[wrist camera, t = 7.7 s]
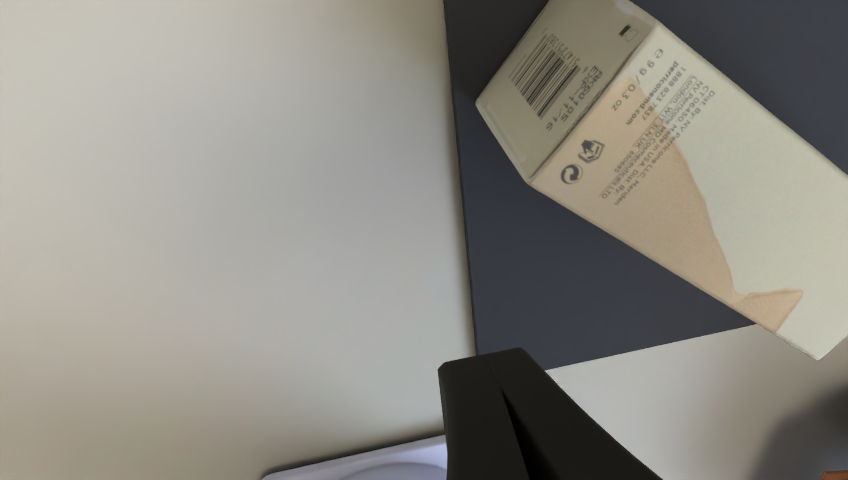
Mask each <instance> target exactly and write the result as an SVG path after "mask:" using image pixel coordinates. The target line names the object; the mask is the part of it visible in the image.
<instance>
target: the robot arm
mask: <svg viewBox="0 0 848 480" xmlns="http://www.w3.org/2000/svg"><path fill="white" fill-rule="evenodd" d="M438 377H439V385H440V394H441V403H442V412H443V421H444V429H445V435H441V436H437V437H432V438H428V439H423V440H419V441H414V442H410V443H406V444H401V445H397V446H392V447H388V448H383V449H379V450H374V451H370V452H365V453H361V454H357V455H352V456H348V457H343V458H339V459H334V460H330V461H325V462H321V463H317V464H312V465H308V466H303V467H299V468H294V469H290V470H285V471H281V472H276V473H272V474H269V475H267V476H265V477H264V478H263V479H262V480H663V479H662V478H660V477H659V476H658V475H657V474H655V473H654V472H653V471H652V470H650V469H649V468H648V467H647V466H646V465H644V464H643V463H642V462H641V461H639V460H638V459H637V458H636V457H635V456H633V455H632V454H631V453H630V452H629V451H628V450H626V449H625V448H624V447H623V446H622V445H621V444H620V443H618V442H617V441H616V440H615V439H614V438H613V437H612V436H611V435H610V434H609V433H607V432H606V431H605V430H604V429H603V428H602V427H601V426H600V425H599V424H598V423H596V422H595V421H594V420H593V419H592V418H591V417H590V416H589V415H588V414H587V413H586V412H585V411H584V410H583V409H582V408H580V407H579V406H578V405H577V404H576V403H575V402H574V401H573V400H572V399H571V398H570V397H569V396H568V395H567V394H566V393H565V392H564V391H563V390H562V389H561V388H560V387H559V386H558V385H557V383H556V382H555V381H554V380H553V379H552V378H551V377H550V376H549V375H548V374H547V373H546V372H545V371H544V370H543V369H542V368H541V366H540V365H539V364H538V363H537V362H536V361H535V360H534V359H533V358H532V357H531V355H530V354H529V353H528V352H527V351H526V350H524V349H523V348H521V347H517V348H512V349H507V350H502V351H498V352H493V353H488V354H483V355H478V356H473V357H468V358H463V359H458V360H454V361H449V362H444V363H443V364H442V365H441V366H440V368H439V369H438Z"/></svg>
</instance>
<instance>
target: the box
mask: <svg viewBox="0 0 848 480" xmlns="http://www.w3.org/2000/svg"><path fill="white" fill-rule="evenodd" d="M475 104H476V107H477V109H478V110H479V112H480V114H481V115H482V117H483V119H484V120H485V122H486V123H487V125H488V127H489V128H490V130H491V131H492V133H493V134H494V136H495V137H496V139H497V140H498V142H499V144H500V145H501V147H502V148H503V150H504V151H505V153H506V154H507V156H508V157H509V159H510V160H511V162H512V163H513V165H514V166H515V168H516V169H517V171H518V172H519V174H520V175H521V177H522V178H523V179H524V181H525V182H526V183H527V184H528V185H530V186H531V187H533V188H534V189H536V190H538V191H539V192H541V193H543V194H544V195H546V196H548V197H549V198H551V199H552V200H554V201H556V202H557V203H559V204H561V205H562V206H564V207H566V208H567V209H569V210H570V211H572V212H574V213H575V214H577V215H579V216H580V217H582V218H584V219H585V220H587V221H589V222H590V223H592V224H594V225H596V226H597V227H599V228H601V229H602V230H604V231H605V232H607V233H609V234H610V235H612V236H614V237H615V238H617V239H619V240H620V241H622V242H624V243H625V244H627V245H629V246H630V247H632V248H633V249H635V250H637V251H638V252H640V253H642V254H643V255H645V256H646V257H648V258H650V259H651V260H653V261H655V262H656V263H658V264H660V265H661V266H663V267H665V268H666V269H668V270H669V271H671V272H673V273H674V274H676V275H678V276H679V277H681V278H683V279H684V280H686V281H688V282H689V283H691V284H692V285H694V286H696V287H697V288H699V289H701V290H702V291H704V292H706V293H707V294H709V295H710V296H712V297H714V298H715V299H717V300H719V301H721V302H722V303H724V304H726V305H727V306H729V307H730V308H732V309H734V310H735V311H737V312H739V313H740V314H742V315H743V316H745V317H747V318H748V319H750V320H752V321H753V322H755V323H757V324H758V325H760V326H762V327H763V328H765V329H767V330H768V331H770V332H771V333H773V334H775V335H776V336H778V337H779V338H781V339H783V340H784V341H786V342H787V343H789V344H791V345H792V346H794V347H796V348H797V349H799V350H800V351H802V352H804V353H805V354H807V355H808V356H810V357H811V358H813V359H815V360H819V359H821V358H822V357H824V356H825V355H826V354H827V353H828V352H829V351H830V350H832V349H833V348H834V347H835V346H836V345H837V344H838V343H839V342H840V341H842V340H843V339H844V338H845V337H846V336H848V175H847V174H845V173H844V172H843V171H842V170H841V169H839V168H838V167H837V166H836V165H835V164H833V163H832V162H831V161H830V160H829V159H827V158H826V157H825V156H824V155H823V154H821V153H820V152H819V151H818V150H817V149H815V148H814V147H813V146H812V145H810V144H809V143H808V142H807V141H805V140H804V139H803V138H802V137H801V136H799V135H798V134H797V133H796V132H794V131H793V130H792V129H791V128H789V127H788V126H787V125H786V124H784V123H783V122H782V121H781V120H779V119H778V118H777V117H776V116H774V115H773V114H772V113H771V112H769V111H768V110H767V109H766V108H764V107H763V106H762V105H761V104H760V103H758V102H757V101H756V100H755V99H753V98H752V97H751V96H750V95H749V94H747V93H746V92H745V91H744V90H743V89H741V88H740V87H739V86H738V85H737V84H735V83H734V82H733V81H732V80H731V79H729V78H728V77H727V76H726V75H724V74H723V73H722V72H721V71H719V70H718V69H717V68H716V67H714V66H713V65H712V64H711V63H709V62H708V61H707V60H706V59H704V58H703V57H702V56H701V55H699V54H698V53H697V52H696V51H694V50H693V49H692V48H691V47H689V46H688V45H687V44H686V43H684V42H683V41H682V40H681V39H680V38H678V37H677V36H676V35H675V34H674V33H672V32H671V31H670V30H669V29H668V28H666V27H665V26H664V25H663V24H662V23H660V22H659V21H658V20H657V19H655V18H654V17H652V16H651V15H650V14H648V13H647V12H646V11H644V10H643V9H641V8H640V7H638V6H637V5H635V4H634V3H632V2H631V1H629V0H550V1H549V2H548V3H547V5H546V6H545V7H544V9H543V10H542V11H541V13H540V14H539V15H538V17H537V18H536V19H535V21H534V22H533V24H532V25H531V27H530V28H529V29H528V30H527V32H526V33H525V35H524V36H523V37H522V39H521V40H520V41H519V43H518V44H517V45H516V47H515V48H514V49H513V51H512V52H511V53H510V55H509V56H508V58H507V59H506V60H505V62H504V63H503V64H502V66H501V67H500V68H499V70H498V71H497V72H496V74H495V75H494V76H493V77H492V79H491V80H490V82H489V83H488V85H487V86H486V87H485V89H484V90H483V91H482V93H481V94H480V95H479V97H478V98H477V100H476V103H475Z"/></svg>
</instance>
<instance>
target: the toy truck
mask: <svg viewBox="0 0 848 480" xmlns="http://www.w3.org/2000/svg"><path fill="white" fill-rule="evenodd" d="M820 480H848V470H843V471H825V472H824V473H823V474H822V476H821V478H820Z"/></svg>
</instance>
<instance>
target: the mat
mask: <svg viewBox="0 0 848 480" xmlns="http://www.w3.org/2000/svg"><path fill="white" fill-rule="evenodd" d="M549 1H550V0H444V11H445V22H446V32H447V43H448V54H449V65H450V76H451V86H452V97H453V108H454V119H455V129H456V140H457V151H458V162H459V173H460V183H461V194H462V205H463V216H464V226H465V237H466V248H467V259H468V270H469V280H470V291H471V302H472V313H473V323H474V334H475V345H476V356H478V355H483V354H488V353H493V352H498V351H502V350H507V349H512V348H517V347H521V348H523V349H524V350H526V351H527V352H528V353H529V354H530V355H531V357H532V358H533V359H534V360H535V361H536V362H537V363H538V364H539V365H540V366H541V368H542V369H543V370H548V369H553V368H558V367H562V366H567V365H571V364H576V363H580V362H585V361H590V360H594V359H599V358H603V357H608V356H613V355H617V354H622V353H626V352H631V351H635V350H640V349H645V348H649V347H654V346H658V345H663V344H667V343H672V342H677V341H681V340H686V339H690V338H695V337H700V336H704V335H709V334H713V333H718V332H722V331H727V330H732V329H736V328H741V327H745V326H750V325H754V324H757V323H755V322H753V321H752V320H750V319H748V318H747V317H745V316H743V315H742V314H740V313H739V312H737V311H735V310H734V309H732V308H730V307H729V306H727V305H726V304H724V303H722V302H721V301H719V300H717V299H715V298H714V297H712V296H710V295H709V294H707V293H706V292H704V291H702V290H701V289H699V288H697V287H696V286H694V285H692V284H691V283H689V282H688V281H686V280H684V279H683V278H681V277H679V276H678V275H676V274H674V273H673V272H671V271H669V270H668V269H666V268H665V267H663V266H661V265H660V264H658V263H656V262H655V261H653V260H651V259H650V258H648V257H646V256H645V255H643V254H642V253H640V252H638V251H637V250H635V249H633V248H632V247H630V246H629V245H627V244H625V243H624V242H622V241H620V240H619V239H617V238H615V237H614V236H612V235H610V234H609V233H607V232H605V231H604V230H602V229H601V228H599V227H597V226H596V225H594V224H592V223H590V222H589V221H587V220H585V219H584V218H582V217H580V216H579V215H577V214H575V213H574V212H572V211H570V210H569V209H567V208H566V207H564V206H562V205H561V204H559V203H557V202H556V201H554V200H552V199H551V198H549V197H548V196H546V195H544V194H543V193H541V192H539V191H538V190H536V189H534V188H533V187H531V186H530V185H528V184H527V183H526V182H525V181H524V179H523V178H522V177H521V175H520V174H519V172H518V171H517V169H516V168H515V166H514V165H513V163H512V162H511V160H510V159H509V157H508V156H507V154H506V153H505V151H504V150H503V148H502V147H501V145H500V144H499V142H498V140H497V139H496V137H495V136H494V134H493V133H492V131H491V130H490V128H489V127H488V125H487V123H486V122H485V120H484V119H483V117H482V115H481V114H480V112H479V110H478V109H477V107H476V104H475V103H476V100H477V98H478V97H479V95H480V94H481V93H482V91H483V90H484V89H485V87H486V86H487V85H488V83H489V82H490V80H491V79H492V77H493V76H494V75H495V74H496V72H497V71H498V70H499V68H500V67H501V66H502V64H503V63H504V62H505V60H506V59H507V58H508V56H509V55H510V53H511V52H512V51H513V49H514V48H515V47H516V45H517V44H518V43H519V41H520V40H521V39H522V37H523V36H524V35H525V33H526V32H527V30H528V29H529V28H530V27H531V25H532V24H533V22H534V21H535V19H536V18H537V17H538V15H539V14H540V13H541V11H542V10H543V9H544V7H545V6H546V5H547V3H548V2H549ZM629 1H631V2H632V3H634V4H635V5H637V6H638V7H640V8H641V9H643V10H644V11H646V12H647V13H648V14H650V15H651V16H652V17H654V18H655V19H657V20H658V21H659V22H660V23H662V24H663V25H664V26H665V27H666V28H668V29H669V30H670V31H671V32H672V33H674V34H675V35H676V36H677V37H678V38H680V39H681V40H682V41H683V42H684V43H686V44H687V45H688V46H689V47H691V48H692V49H693V50H694V51H696V52H697V53H698V54H699V55H701V56H702V57H703V58H704V59H706V60H707V61H708V62H709V63H711V64H712V65H713V66H714V67H716V68H717V69H718V70H719V71H721V72H722V73H723V74H724V75H726V76H727V77H728V78H729V79H731V80H732V81H733V82H734V83H735V84H737V85H738V86H739V87H740V88H741V89H743V90H744V91H745V92H746V93H747V94H749V95H750V96H751V97H752V98H753V99H755V100H756V101H757V102H758V103H760V104H761V105H762V106H763V107H764V108H766V109H767V110H768V111H769V112H771V113H772V114H773V115H774V116H776V117H777V118H778V119H779V120H781V121H782V122H783V123H784V124H786V125H787V126H788V127H789V128H791V129H792V130H793V131H794V132H796V133H797V134H798V135H799V136H801V137H802V138H803V139H804V140H805V141H807V142H808V143H809V144H810V145H812V146H813V147H814V148H815V149H817V150H818V151H819V152H820V153H821V154H823V155H824V156H825V157H826V158H827V159H829V160H830V161H831V162H832V163H833V164H835V165H836V166H837V167H838V168H839V169H841V170H842V171H843V172H844V173H845V174H847V175H848V0H629Z"/></svg>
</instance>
